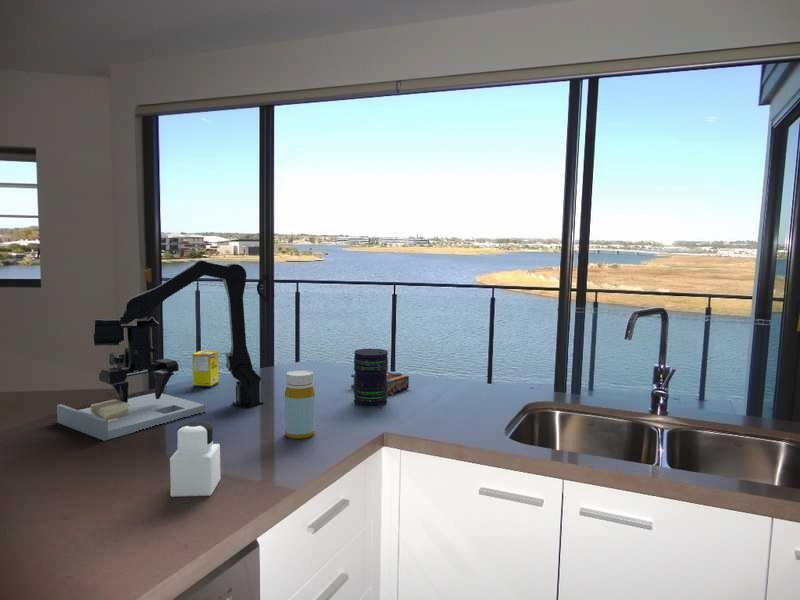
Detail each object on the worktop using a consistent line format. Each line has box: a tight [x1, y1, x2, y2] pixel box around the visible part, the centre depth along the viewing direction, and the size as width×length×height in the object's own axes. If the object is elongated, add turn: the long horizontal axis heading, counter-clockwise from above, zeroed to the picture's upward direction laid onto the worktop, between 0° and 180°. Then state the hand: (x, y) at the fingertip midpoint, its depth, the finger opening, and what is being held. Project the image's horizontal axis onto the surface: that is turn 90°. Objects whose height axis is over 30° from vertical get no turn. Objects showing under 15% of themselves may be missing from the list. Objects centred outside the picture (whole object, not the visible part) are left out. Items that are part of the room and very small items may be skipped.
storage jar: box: [353, 348, 389, 408], centre depth 156 cm, size 10×10×15 cm
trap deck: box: [56, 392, 206, 442], centre depth 140 cm, size 22×27×4 cm
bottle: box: [284, 369, 316, 440], centre depth 128 cm, size 7×7×15 cm
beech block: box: [90, 399, 128, 420], centre depth 135 cm, size 6×6×3 cm
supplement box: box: [191, 350, 220, 389], centre depth 173 cm, size 6×6×11 cm
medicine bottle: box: [169, 420, 221, 498], centre depth 99 cm, size 7×7×12 cm
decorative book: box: [350, 371, 410, 396], centre depth 173 cm, size 11×16×5 cm
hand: (141, 402), depth 142 cm, fingers open, 9 cm apart
